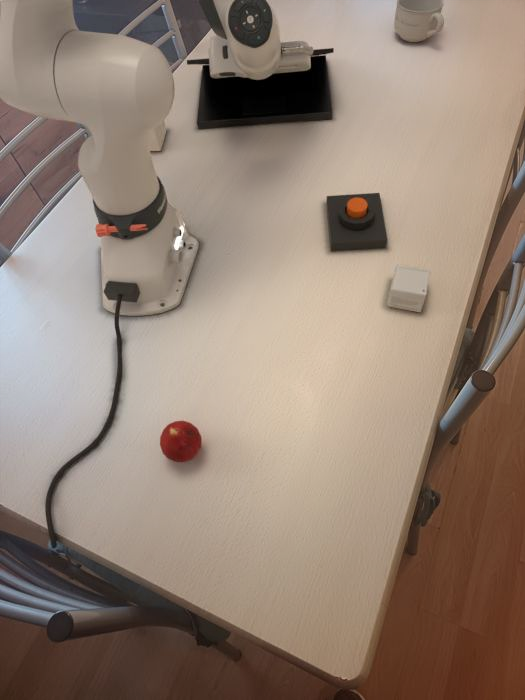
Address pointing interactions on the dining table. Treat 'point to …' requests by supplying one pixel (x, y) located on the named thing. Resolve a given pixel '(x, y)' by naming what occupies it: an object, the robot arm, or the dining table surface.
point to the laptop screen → (315, 53)
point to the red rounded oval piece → (180, 441)
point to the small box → (408, 288)
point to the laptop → (265, 98)
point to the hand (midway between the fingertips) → (261, 71)
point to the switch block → (355, 224)
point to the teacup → (418, 19)
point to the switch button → (357, 208)
